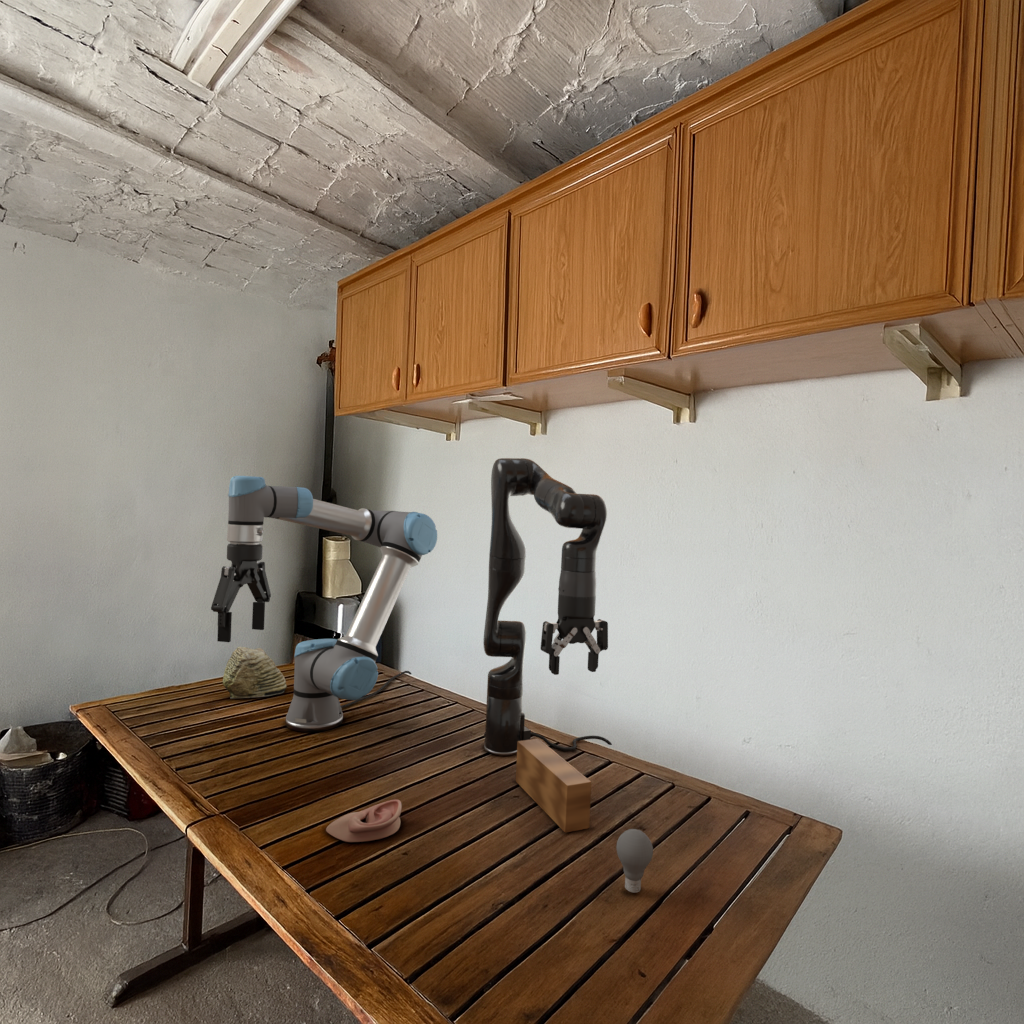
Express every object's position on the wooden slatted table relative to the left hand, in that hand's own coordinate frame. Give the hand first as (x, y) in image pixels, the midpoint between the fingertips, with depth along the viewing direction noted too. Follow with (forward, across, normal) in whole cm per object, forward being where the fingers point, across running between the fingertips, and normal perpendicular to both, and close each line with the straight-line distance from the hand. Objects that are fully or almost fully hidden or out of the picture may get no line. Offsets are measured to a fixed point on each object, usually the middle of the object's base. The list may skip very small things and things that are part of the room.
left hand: (241, 635), depth 146 cm
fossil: (+31, +49, +25) cm, 63 cm away
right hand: (0, -6, -77) cm, 77 cm away
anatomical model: (+31, -19, -38) cm, 53 cm away
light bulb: (+31, -28, -89) cm, 98 cm away
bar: (+31, 0, -72) cm, 79 cm away
